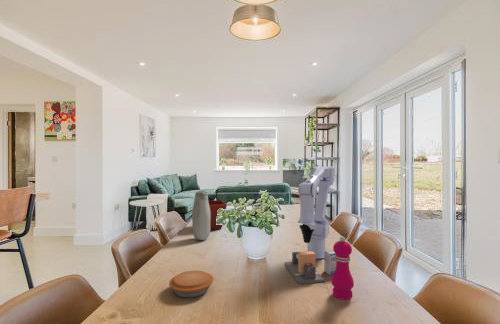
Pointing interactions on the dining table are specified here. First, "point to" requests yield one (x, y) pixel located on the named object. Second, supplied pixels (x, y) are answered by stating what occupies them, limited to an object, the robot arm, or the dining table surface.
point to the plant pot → (215, 212)
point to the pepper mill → (342, 270)
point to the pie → (191, 283)
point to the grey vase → (201, 216)
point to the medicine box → (329, 262)
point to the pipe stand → (309, 271)
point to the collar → (306, 260)
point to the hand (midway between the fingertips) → (306, 242)
